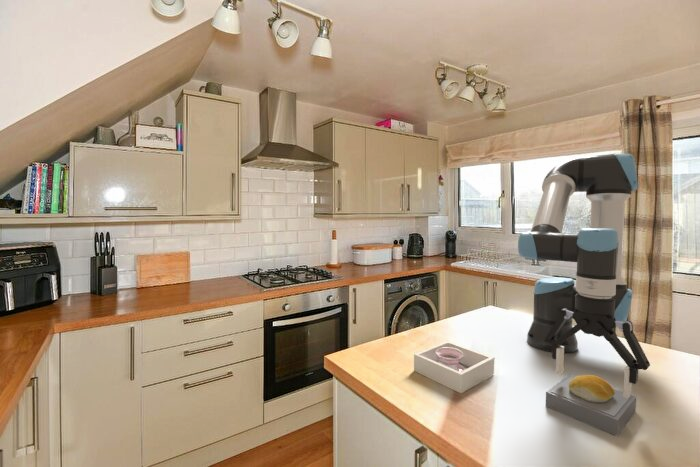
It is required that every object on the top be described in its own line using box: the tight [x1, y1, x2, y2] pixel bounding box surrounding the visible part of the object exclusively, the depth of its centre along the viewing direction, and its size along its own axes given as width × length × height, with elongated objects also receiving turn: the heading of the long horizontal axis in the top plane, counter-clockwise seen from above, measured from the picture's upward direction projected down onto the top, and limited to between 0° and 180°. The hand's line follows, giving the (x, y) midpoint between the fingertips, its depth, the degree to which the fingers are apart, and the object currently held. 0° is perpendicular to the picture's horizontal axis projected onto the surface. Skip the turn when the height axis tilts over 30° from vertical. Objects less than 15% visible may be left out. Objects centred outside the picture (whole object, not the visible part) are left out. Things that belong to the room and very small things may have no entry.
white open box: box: [413, 340, 495, 394], centre depth 99 cm, size 16×16×5 cm
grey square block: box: [545, 374, 637, 437], centre depth 81 cm, size 14×14×4 cm
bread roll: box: [569, 374, 615, 403], centre depth 81 cm, size 8×9×4 cm
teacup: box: [435, 347, 467, 371], centre depth 99 cm, size 12×12×6 cm
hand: (591, 383), depth 81 cm, fingers open, 13 cm apart
